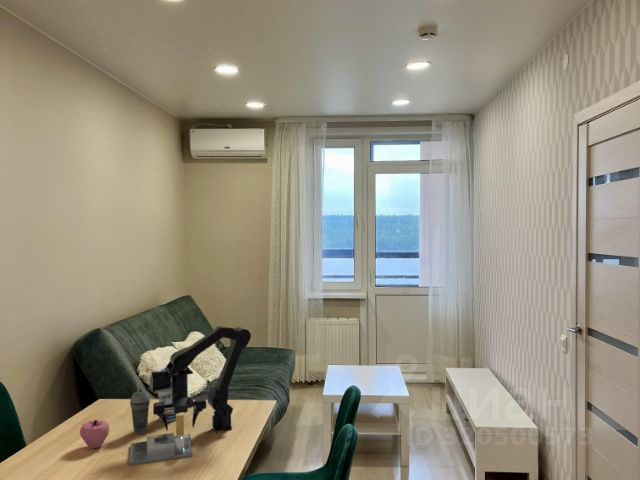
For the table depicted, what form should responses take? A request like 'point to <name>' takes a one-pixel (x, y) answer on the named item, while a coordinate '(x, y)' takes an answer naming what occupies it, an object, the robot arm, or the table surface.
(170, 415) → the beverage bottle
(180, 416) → the pale yellow rectangular prism
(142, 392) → the beverage cup
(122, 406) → the table surface
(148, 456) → the gray tray
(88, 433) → the apple
